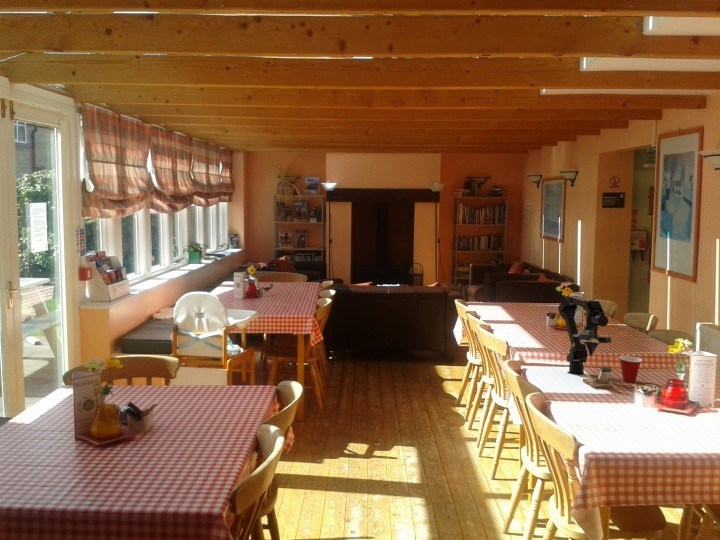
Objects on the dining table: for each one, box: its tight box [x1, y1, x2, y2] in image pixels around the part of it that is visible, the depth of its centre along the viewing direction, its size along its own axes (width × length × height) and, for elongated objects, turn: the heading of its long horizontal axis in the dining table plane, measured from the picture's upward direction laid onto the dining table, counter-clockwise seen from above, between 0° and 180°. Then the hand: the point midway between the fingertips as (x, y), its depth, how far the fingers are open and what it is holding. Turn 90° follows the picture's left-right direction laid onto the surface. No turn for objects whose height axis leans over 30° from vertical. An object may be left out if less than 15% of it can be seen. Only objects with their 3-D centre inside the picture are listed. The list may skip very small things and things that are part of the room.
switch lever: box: [597, 366, 613, 384], centre depth 343 cm, size 2×5×10 cm, turn 93°
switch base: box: [582, 377, 614, 390], centre depth 350 cm, size 16×9×4 cm, turn 4°
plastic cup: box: [618, 355, 643, 383], centre depth 361 cm, size 11×11×12 cm
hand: (591, 355), depth 364 cm, fingers closed
